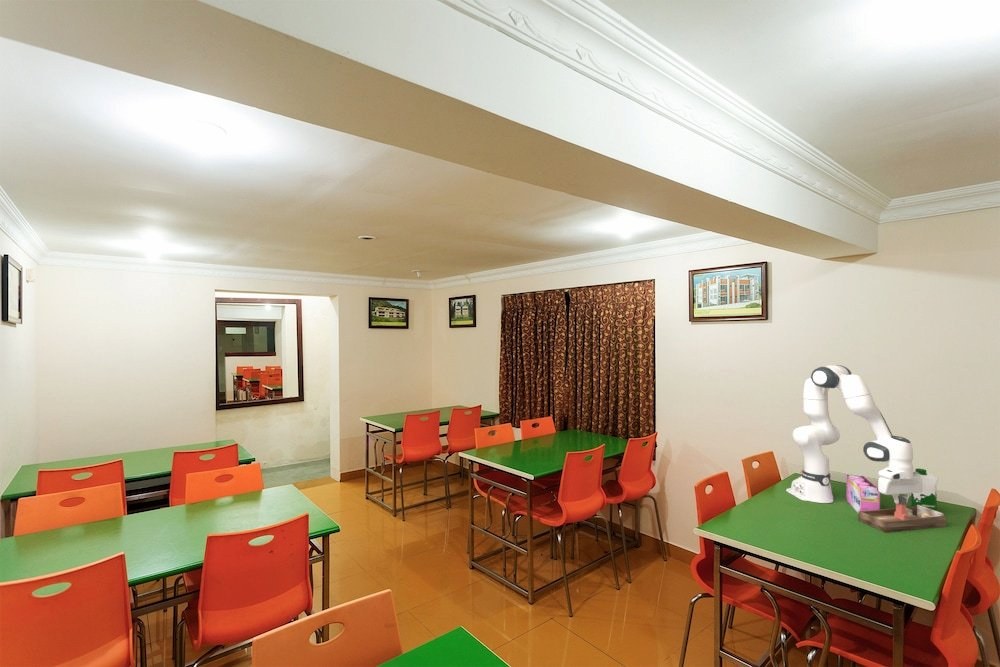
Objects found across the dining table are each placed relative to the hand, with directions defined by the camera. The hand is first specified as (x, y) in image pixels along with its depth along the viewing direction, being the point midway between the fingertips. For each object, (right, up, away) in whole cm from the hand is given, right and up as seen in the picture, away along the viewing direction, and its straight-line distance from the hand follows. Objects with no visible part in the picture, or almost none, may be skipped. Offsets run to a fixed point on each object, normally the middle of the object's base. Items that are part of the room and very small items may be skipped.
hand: (900, 502), depth 217 cm
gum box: (-3, -10, +19) cm, 21 cm away
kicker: (0, -7, 0) cm, 7 cm away
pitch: (0, -10, 0) cm, 10 cm away
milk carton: (+23, -9, +13) cm, 28 cm away
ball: (+13, -7, +2) cm, 15 cm away
